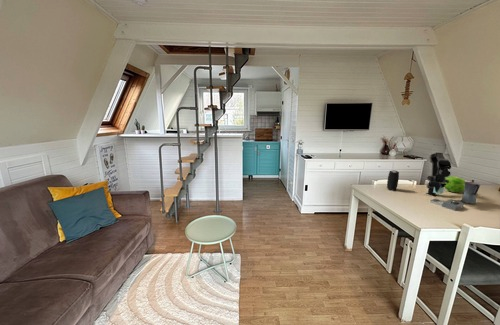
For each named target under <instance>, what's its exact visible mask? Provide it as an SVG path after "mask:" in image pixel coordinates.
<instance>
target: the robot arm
mask: <svg viewBox="0 0 500 325" xmlns="http://www.w3.org/2000/svg"><path fill="white" fill-rule="evenodd" d="M429 162H430V163H431V175H428V176H427V178H426V179H427V180H428V182H427V184H426V189H428V191H427V192H426V193H425V194H426V195H429V196H433V197H434V196H435V197H436V196H438V194H437V193H433V190H434V187H435V191H436V192H437V191H438V190H439V189H440V187H443V188H444V189H445V187H444V186H445V185H446V183H449V180H447V179H445V178H447V177H451V171H449V170H451V168H452V164H451V161H450V160H449V159H447V158H446V157H445V156H444V153H443V152H438V151H437V152H434V153H431V154H430V156H429ZM445 182H446V183H445Z"/></svg>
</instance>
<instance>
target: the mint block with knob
mask: <svg viewBox="0 0 500 325" xmlns="http://www.w3.org/2000/svg"><path fill="white" fill-rule="evenodd" d="M444 190H445V187H444V188H443V187H440V189H439V190H438V191H437V192H436V191H435V187H434V190H433V193H436V194H437V195H442V194H443V193H444Z"/></svg>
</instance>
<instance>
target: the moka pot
mask: <svg viewBox="0 0 500 325" xmlns="http://www.w3.org/2000/svg"><path fill="white" fill-rule="evenodd" d="M480 187H481V184H480V183H478V182H475V180H474V179H472V180H471V181H465V190H464V192H463V195H462V198H461V201H460V202H463V203H466V204H472V205H475V204H477V193H478V192H479V190H480Z"/></svg>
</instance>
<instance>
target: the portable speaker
mask: <svg viewBox="0 0 500 325" xmlns="http://www.w3.org/2000/svg"><path fill="white" fill-rule="evenodd" d="M399 175H400V172H399V171H397V170H389V173H388V177H387V181H386V188H387V190H388V191H397V189H398V185H399V177H400V176H399Z"/></svg>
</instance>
